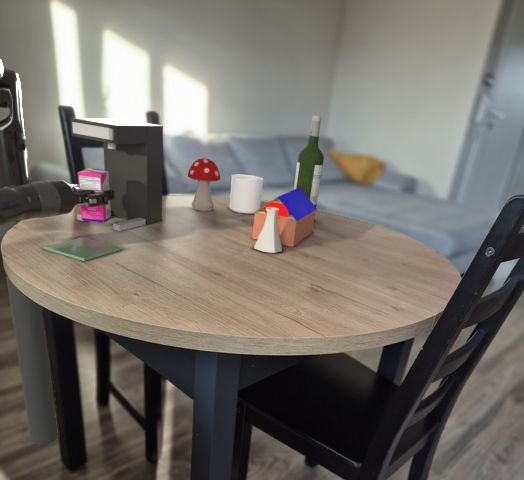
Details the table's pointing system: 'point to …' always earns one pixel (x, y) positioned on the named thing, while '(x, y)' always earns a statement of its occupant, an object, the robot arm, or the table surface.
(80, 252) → the plate
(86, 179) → the supplement box
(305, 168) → the wine bottle
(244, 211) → the mug
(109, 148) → the espresso machine
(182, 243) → the table surface
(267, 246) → the flask
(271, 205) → the house
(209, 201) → the decorative mushroom
